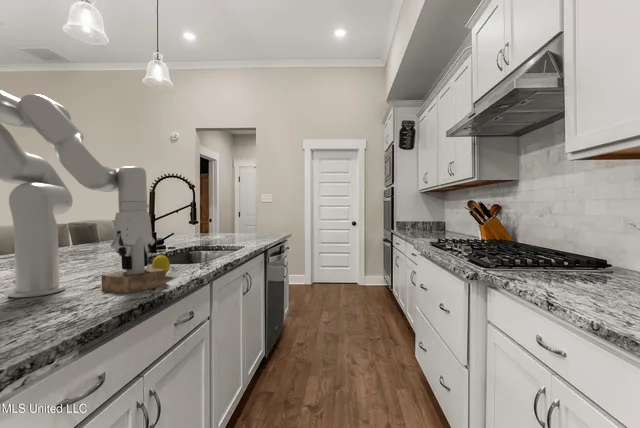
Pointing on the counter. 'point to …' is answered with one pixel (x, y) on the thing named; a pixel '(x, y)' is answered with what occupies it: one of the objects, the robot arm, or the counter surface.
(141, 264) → the beverage can
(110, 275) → the socket block
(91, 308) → the counter surface
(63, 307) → the counter surface
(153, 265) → the lemon
